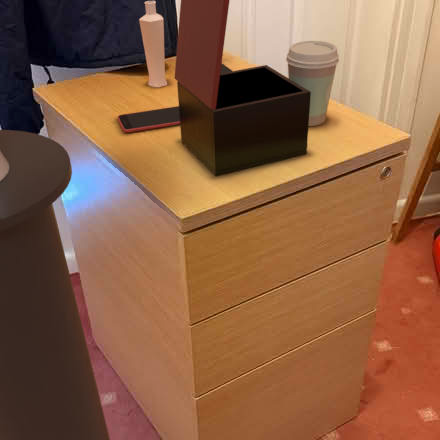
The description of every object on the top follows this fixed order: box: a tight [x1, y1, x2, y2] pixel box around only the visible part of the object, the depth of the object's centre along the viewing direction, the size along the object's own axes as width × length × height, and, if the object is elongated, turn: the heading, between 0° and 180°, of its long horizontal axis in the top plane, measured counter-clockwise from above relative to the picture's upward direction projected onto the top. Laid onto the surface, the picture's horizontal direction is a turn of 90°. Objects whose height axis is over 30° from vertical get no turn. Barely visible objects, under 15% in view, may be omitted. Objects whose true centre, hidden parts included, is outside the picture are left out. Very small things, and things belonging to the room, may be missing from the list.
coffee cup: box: [285, 40, 340, 127], centre depth 97 cm, size 8×9×12 cm
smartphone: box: [117, 105, 180, 133], centre depth 102 cm, size 7×1×14 cm
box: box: [176, 64, 311, 177], centre depth 90 cm, size 16×14×10 cm
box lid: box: [173, 0, 230, 109], centre depth 79 cm, size 16×14×1 cm
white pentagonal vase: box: [138, 0, 168, 88], centre depth 111 cm, size 5×4×15 cm
